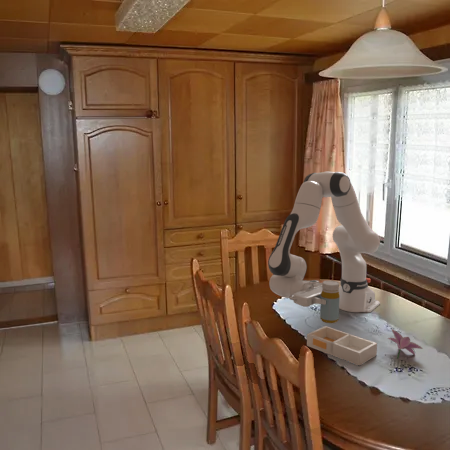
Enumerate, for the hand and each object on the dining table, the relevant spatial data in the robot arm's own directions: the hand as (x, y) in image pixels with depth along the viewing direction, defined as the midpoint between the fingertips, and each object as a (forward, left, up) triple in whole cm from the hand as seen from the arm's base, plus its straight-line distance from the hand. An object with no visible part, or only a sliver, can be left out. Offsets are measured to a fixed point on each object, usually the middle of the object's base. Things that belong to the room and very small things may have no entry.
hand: (332, 300), depth 181 cm
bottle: (0, -1, -8) cm, 9 cm away
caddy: (0, +5, -19) cm, 19 cm away
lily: (-13, +23, -19) cm, 33 cm away
